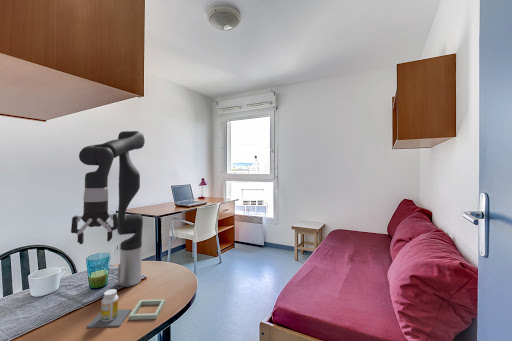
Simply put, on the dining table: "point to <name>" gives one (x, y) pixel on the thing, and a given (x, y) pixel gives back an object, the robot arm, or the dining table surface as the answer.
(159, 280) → the dining table surface
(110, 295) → the supplement bottle
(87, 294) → the dining table surface
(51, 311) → the dining table surface
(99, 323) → the mat
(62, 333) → the dining table surface
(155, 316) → the pale green square frame
